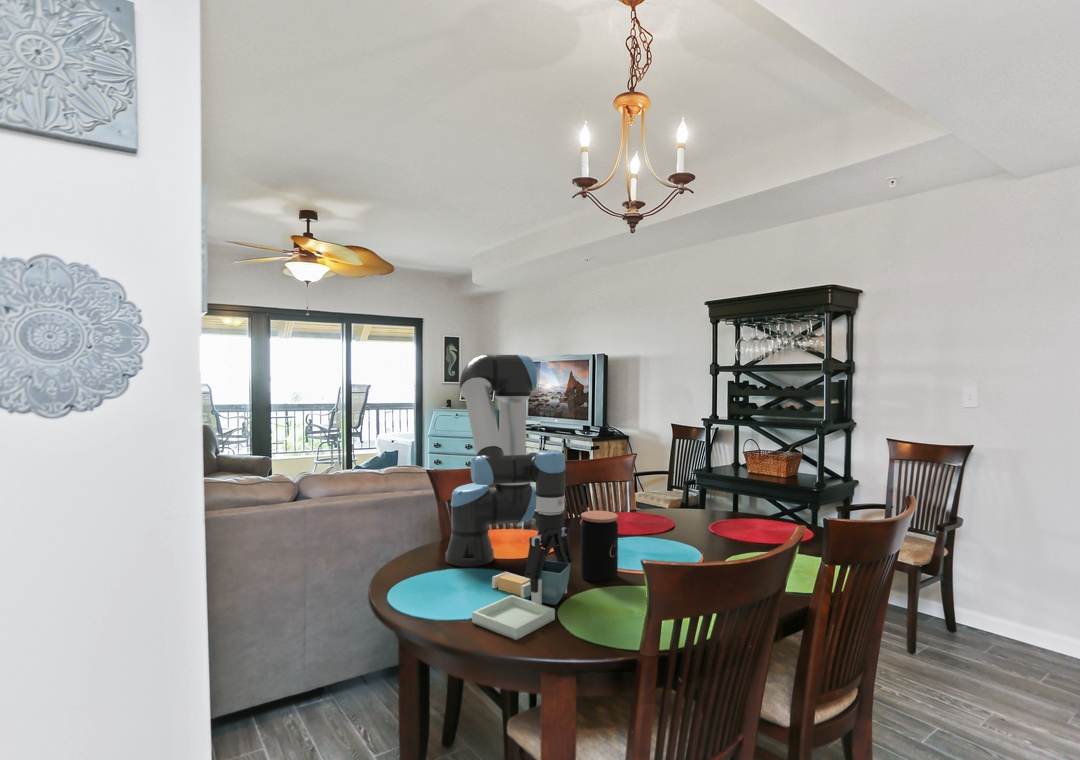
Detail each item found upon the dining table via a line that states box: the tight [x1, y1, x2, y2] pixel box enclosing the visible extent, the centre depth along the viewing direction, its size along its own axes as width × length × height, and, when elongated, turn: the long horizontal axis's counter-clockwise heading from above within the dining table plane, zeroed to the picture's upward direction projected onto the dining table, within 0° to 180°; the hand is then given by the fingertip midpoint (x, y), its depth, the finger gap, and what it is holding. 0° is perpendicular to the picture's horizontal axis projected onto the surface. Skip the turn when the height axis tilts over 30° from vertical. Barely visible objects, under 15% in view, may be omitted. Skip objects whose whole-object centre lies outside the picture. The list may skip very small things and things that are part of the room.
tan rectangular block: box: [498, 574, 530, 597], centre depth 154 cm, size 8×4×4 cm, turn 56°
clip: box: [491, 571, 532, 599], centre depth 154 cm, size 11×6×3 cm, turn 51°
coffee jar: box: [580, 510, 619, 584], centre depth 164 cm, size 11×11×18 cm
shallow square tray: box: [471, 594, 556, 641], centre depth 134 cm, size 14×14×2 cm
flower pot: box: [530, 559, 572, 606], centre depth 147 cm, size 9×9×9 cm
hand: (549, 598), depth 147 cm, fingers closed on flower pot, 10 cm apart
